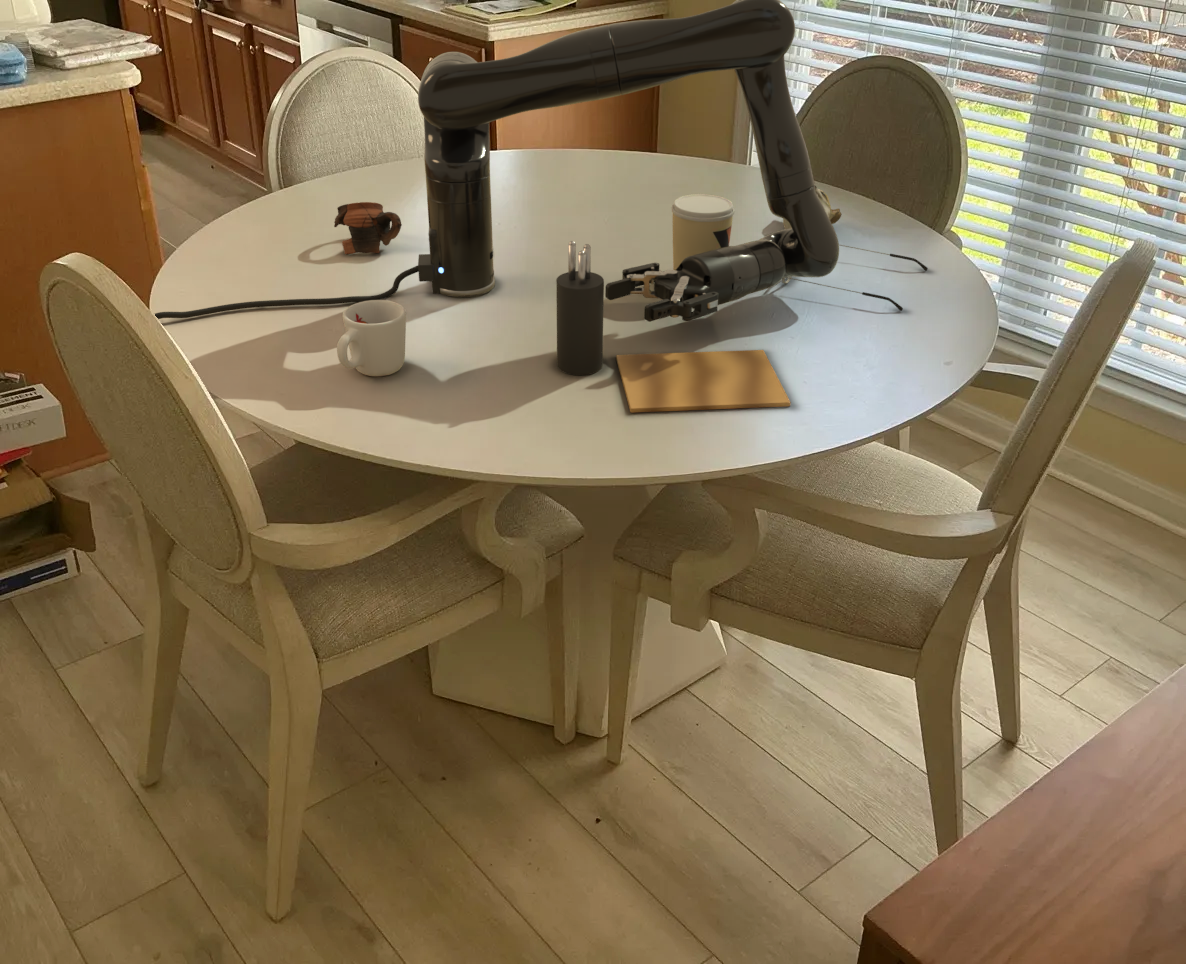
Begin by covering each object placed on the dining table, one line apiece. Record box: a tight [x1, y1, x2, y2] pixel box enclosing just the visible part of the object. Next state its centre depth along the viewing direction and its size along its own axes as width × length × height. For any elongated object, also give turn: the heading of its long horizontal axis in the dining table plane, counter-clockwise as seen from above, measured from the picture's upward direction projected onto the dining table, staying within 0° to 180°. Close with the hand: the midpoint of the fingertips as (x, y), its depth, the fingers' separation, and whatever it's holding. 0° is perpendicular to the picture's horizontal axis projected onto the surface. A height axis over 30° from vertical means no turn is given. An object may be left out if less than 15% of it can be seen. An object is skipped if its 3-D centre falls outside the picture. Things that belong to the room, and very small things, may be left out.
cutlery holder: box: [555, 240, 605, 376], centre depth 148 cm, size 6×6×17 cm
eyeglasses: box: [781, 244, 928, 312], centre depth 178 cm, size 18×19×4 cm
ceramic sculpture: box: [782, 185, 843, 230], centre depth 194 cm, size 11×9×15 cm
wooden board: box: [615, 349, 792, 414], centre depth 149 cm, size 20×15×1 cm
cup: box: [336, 299, 407, 377], centre depth 148 cm, size 11×8×8 cm
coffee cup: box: [671, 193, 736, 270], centre depth 175 cm, size 9×9×12 cm
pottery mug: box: [333, 201, 403, 255], centre depth 187 cm, size 12×10×8 cm
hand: (626, 302), depth 153 cm, fingers open, 8 cm apart
